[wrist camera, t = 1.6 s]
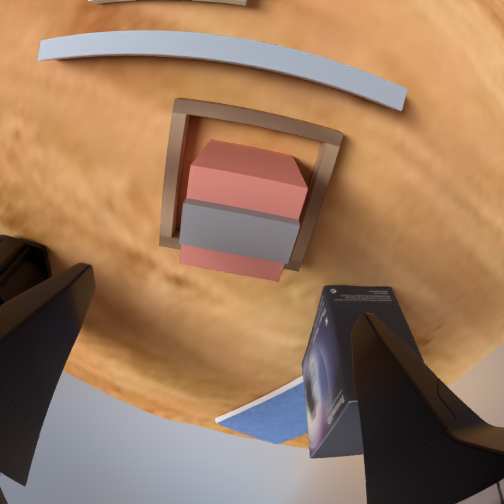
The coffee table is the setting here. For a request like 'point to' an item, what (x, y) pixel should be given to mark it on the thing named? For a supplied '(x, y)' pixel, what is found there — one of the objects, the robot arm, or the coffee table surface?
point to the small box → (342, 365)
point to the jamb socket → (257, 118)
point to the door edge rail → (228, 58)
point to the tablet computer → (272, 415)
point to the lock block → (241, 210)
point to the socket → (230, 0)
